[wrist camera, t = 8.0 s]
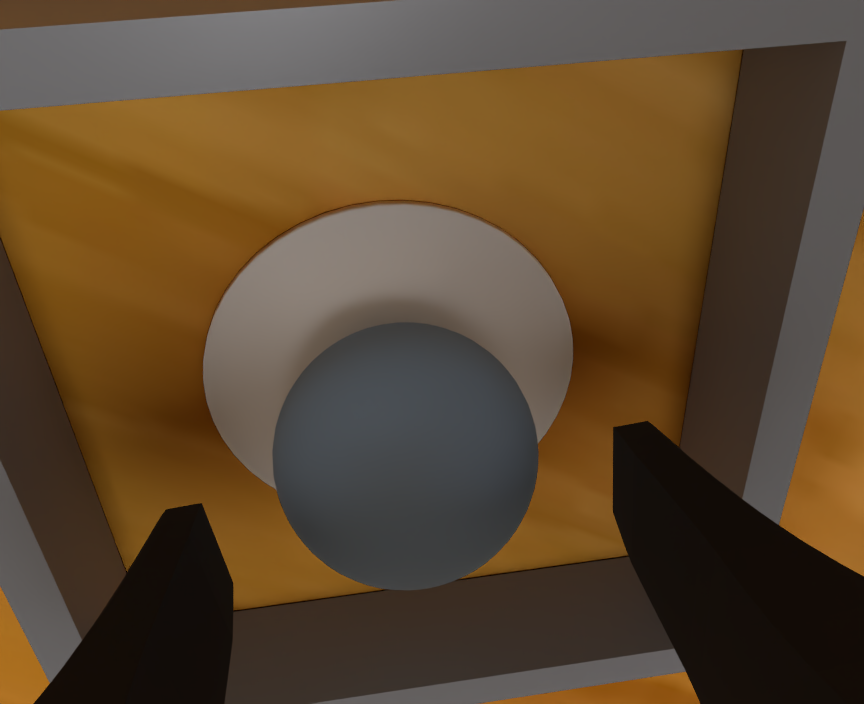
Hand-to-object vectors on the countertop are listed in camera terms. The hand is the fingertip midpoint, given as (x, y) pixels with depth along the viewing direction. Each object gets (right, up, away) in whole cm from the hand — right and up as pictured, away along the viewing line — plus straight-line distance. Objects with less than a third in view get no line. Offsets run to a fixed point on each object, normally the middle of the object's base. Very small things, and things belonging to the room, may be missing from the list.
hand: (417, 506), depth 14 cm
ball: (0, +1, +1) cm, 2 cm away
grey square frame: (-1, +2, +4) cm, 4 cm away
